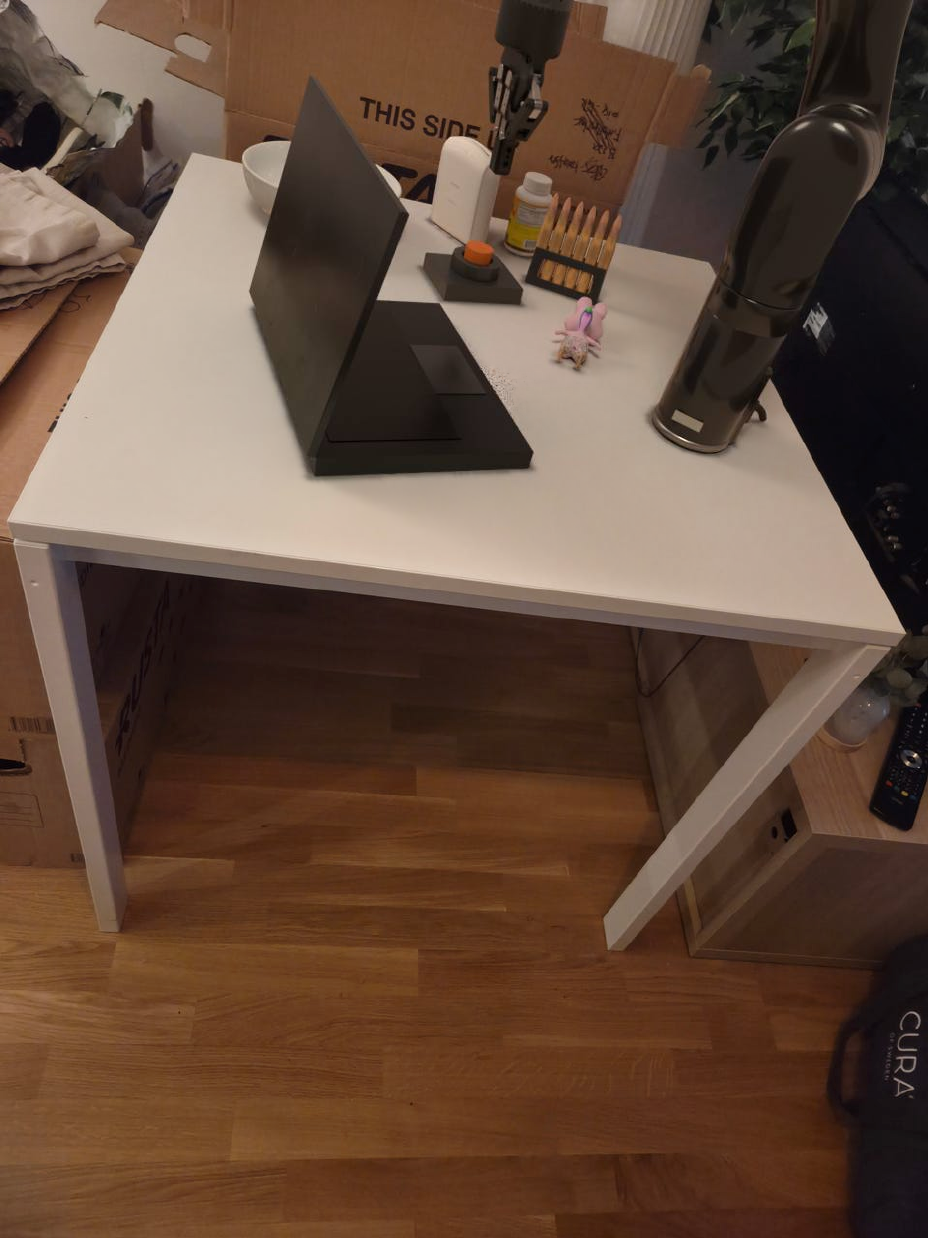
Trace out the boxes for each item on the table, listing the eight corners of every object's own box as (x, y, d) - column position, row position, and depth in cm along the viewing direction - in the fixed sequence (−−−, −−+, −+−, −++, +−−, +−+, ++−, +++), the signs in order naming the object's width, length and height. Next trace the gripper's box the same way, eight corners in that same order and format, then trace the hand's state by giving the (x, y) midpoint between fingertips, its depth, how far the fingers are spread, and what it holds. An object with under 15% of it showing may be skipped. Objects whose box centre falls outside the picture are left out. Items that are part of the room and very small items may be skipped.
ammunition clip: (524, 282, 111) (549, 192, 102) (526, 277, 112) (551, 188, 103) (595, 306, 110) (627, 218, 102) (597, 301, 112) (628, 214, 103)
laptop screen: (318, 78, 74) (309, 74, 74) (411, 214, 57) (400, 210, 56) (256, 293, 88) (248, 291, 87) (316, 458, 70) (306, 456, 69)
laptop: (436, 318, 97) (439, 301, 96) (528, 468, 80) (534, 451, 78) (256, 310, 89) (256, 292, 87) (314, 476, 71) (316, 457, 70)
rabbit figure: (587, 384, 97) (613, 320, 106) (602, 343, 92) (628, 280, 101) (540, 367, 98) (569, 304, 106) (553, 325, 93) (582, 263, 101)
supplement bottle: (511, 237, 121) (530, 166, 114) (543, 251, 120) (564, 180, 113) (496, 247, 117) (514, 173, 110) (529, 261, 116) (549, 188, 109)
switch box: (495, 273, 111) (502, 244, 108) (519, 304, 105) (527, 275, 102) (422, 268, 106) (427, 238, 103) (443, 301, 101) (449, 270, 98)
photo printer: (424, 218, 118) (441, 127, 110) (446, 216, 121) (464, 127, 112) (467, 249, 114) (487, 157, 105) (489, 247, 116) (510, 156, 108)
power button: (484, 254, 105) (487, 241, 104) (494, 267, 103) (497, 253, 102) (459, 252, 104) (462, 239, 102) (469, 265, 101) (472, 251, 100)
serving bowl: (390, 271, 103) (399, 218, 98) (227, 237, 100) (228, 179, 95) (397, 212, 118) (405, 162, 113) (255, 180, 114) (256, 127, 109)
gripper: (595, 19, 80) (547, 197, 93) (545, -13, 88) (506, 155, 100) (530, 5, 77) (489, 191, 90) (484, -27, 85) (452, 148, 98)
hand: (498, 172), depth 95 cm, fingers closed
